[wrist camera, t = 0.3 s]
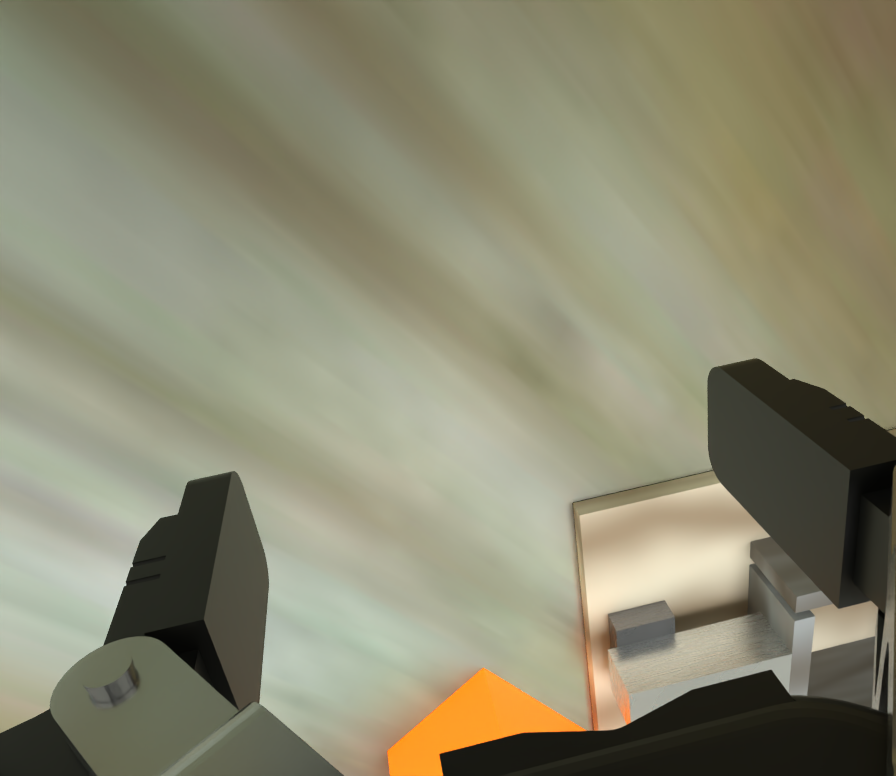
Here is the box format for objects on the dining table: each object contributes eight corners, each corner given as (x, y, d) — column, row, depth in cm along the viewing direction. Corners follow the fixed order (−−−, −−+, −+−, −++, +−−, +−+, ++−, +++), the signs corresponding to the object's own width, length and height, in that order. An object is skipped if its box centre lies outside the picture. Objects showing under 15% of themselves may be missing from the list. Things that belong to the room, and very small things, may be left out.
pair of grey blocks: (598, 616, 38) (628, 678, 34) (1073, 500, 40) (1147, 548, 36) (608, 746, 43) (635, 813, 39) (1033, 637, 45) (1096, 691, 41)
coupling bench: (572, 503, 36) (610, 572, 31) (1073, 388, 38) (1175, 437, 33) (595, 750, 44) (627, 832, 40) (1004, 645, 46) (1078, 712, 42)
